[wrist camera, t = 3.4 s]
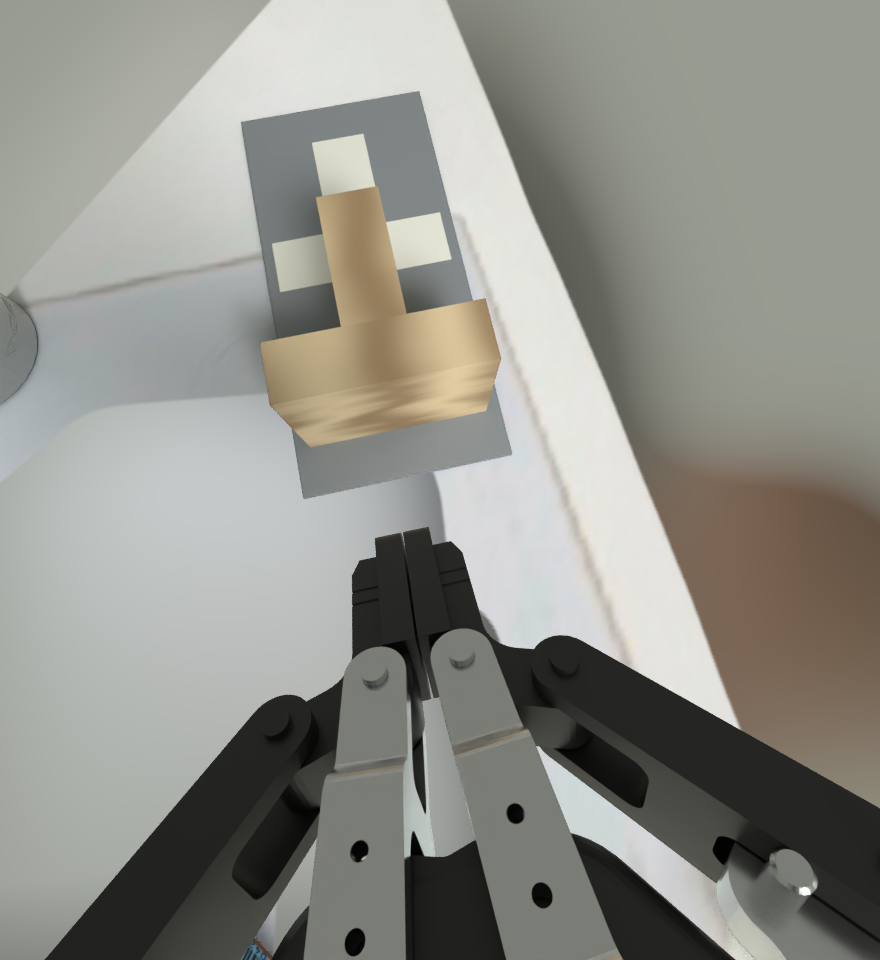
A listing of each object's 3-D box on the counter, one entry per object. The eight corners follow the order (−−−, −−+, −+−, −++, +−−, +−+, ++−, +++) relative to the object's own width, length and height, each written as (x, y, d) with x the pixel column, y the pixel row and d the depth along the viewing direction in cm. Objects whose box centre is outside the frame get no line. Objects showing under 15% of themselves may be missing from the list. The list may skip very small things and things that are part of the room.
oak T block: (310, 447, 32) (269, 405, 25) (284, 294, 35) (239, 211, 27) (486, 411, 33) (501, 358, 25) (449, 263, 35) (452, 172, 27)
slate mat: (304, 498, 32) (303, 497, 32) (243, 127, 38) (241, 122, 38) (511, 455, 33) (512, 453, 32) (419, 96, 39) (419, 91, 38)
